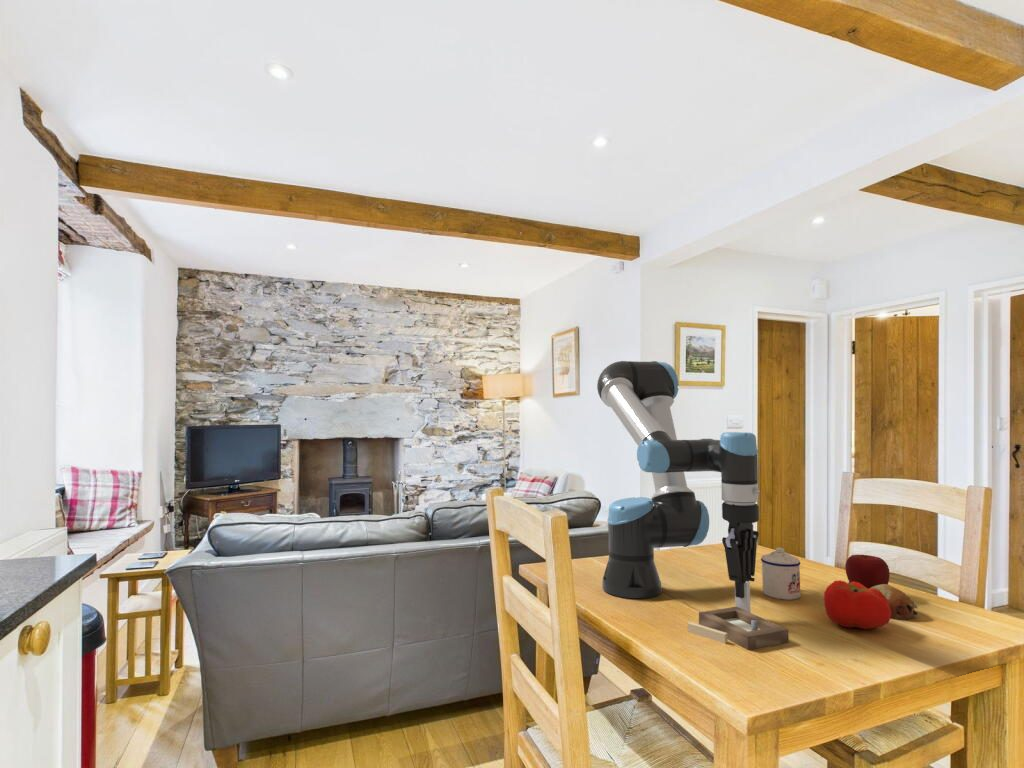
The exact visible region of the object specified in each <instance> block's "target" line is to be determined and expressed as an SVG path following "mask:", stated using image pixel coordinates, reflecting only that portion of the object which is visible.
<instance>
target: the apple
mask: <svg viewBox="0 0 1024 768" xmlns="http://www.w3.org/2000/svg"><path fill="white" fill-rule="evenodd" d="M845 573H846V577H847V580H848V582H849V583H850V582H853V581H854V582H858V583H860V584H862V585H863V586H865V587H866V588H871V587H873V586H877V585H881V584H888V585H889V582H890V568H889V564H887V562H886V561H885V560H884V559H883V558H881V557H879V556H874V555H869V554H851V555H850V556H849V557H847V559H846V560H845Z"/></svg>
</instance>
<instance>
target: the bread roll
mask: <svg viewBox="0 0 1024 768" xmlns="http://www.w3.org/2000/svg"><path fill="white" fill-rule="evenodd" d="M871 588H873V589H875V590H878V591H880V592H881V593H882V594H883V595H884V596H885V597H886V599H887V601H888V603H889V606H890V610H891V618H890V620H891V619H893V620H910V619H913V618H914V616H917V615H918V612H917V611H916V610H915V609H918V606H917V605H916V603H915V602H914V600H913V599H912V598H911V597H909V596H908V595H907V594H906V593H905V592H903V591H902V590H900V589H899V588H896V587H894V586H892V585H890V584H889V583H888V584H881V585H877V586H873V587H871ZM869 589H870V588H869Z"/></svg>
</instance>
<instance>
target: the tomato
mask: <svg viewBox="0 0 1024 768" xmlns="http://www.w3.org/2000/svg"><path fill="white" fill-rule="evenodd" d="M823 603H824V608H825V613H826V614H827V617H828V618H829V619H830V620H831V621H832V622H834V623H836V624H837V625H839V626H842V627H844V628H858V629H863V630H870V629H875V628H879V627H883V626H885V625H887V624H888V623H889V622H890V620H891V610H890V606H889V603H888V601H887V599H886V597H885V596H884V595H883V594H882V593H881V592H880V591H878V590H875V589H873V588H870V589H869V588H866V587H865V586H863V585H862V584H860V583H858V582H854V581H853V582H850V583H849V581H848V582H846V581H845V580H842V579H841V580H834V581H833V582H832V583H830V584H829V585H827V587H826V589H825V591H824V594H823Z"/></svg>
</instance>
